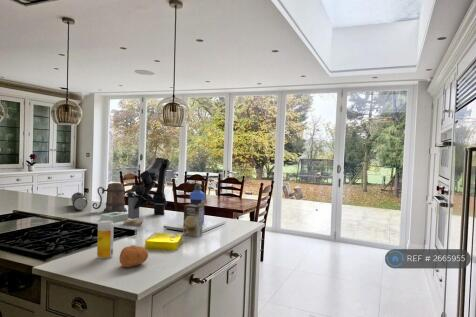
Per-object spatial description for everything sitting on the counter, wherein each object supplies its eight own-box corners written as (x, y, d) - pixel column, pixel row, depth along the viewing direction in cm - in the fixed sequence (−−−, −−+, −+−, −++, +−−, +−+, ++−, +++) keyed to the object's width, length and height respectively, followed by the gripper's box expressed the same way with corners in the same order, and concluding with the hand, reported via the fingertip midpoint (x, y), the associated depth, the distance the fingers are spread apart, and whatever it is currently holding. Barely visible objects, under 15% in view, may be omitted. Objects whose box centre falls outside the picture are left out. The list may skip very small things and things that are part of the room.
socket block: (116, 217, 212) (116, 211, 212) (128, 220, 206) (128, 213, 206) (100, 220, 202) (100, 214, 202) (112, 223, 196) (112, 216, 196)
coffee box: (182, 235, 175) (183, 205, 174) (187, 232, 181) (188, 203, 180) (197, 237, 172) (198, 206, 171) (202, 234, 178) (203, 205, 177)
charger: (134, 216, 199) (134, 197, 199) (139, 217, 197) (139, 198, 197) (127, 218, 195) (128, 198, 195) (132, 219, 193) (133, 199, 193)
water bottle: (186, 224, 201) (187, 183, 200) (193, 221, 209) (195, 182, 209) (199, 225, 197) (200, 184, 197) (206, 222, 206) (208, 183, 205)
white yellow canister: (100, 254, 139) (100, 219, 138) (114, 254, 139) (115, 220, 139) (94, 259, 132) (95, 223, 132) (110, 259, 133) (111, 223, 133)
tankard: (125, 208, 245) (125, 182, 245) (129, 212, 231) (130, 184, 230) (91, 210, 234) (91, 182, 233) (93, 214, 219) (94, 185, 219)
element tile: (153, 241, 163) (153, 231, 163) (183, 242, 163) (183, 233, 162) (143, 250, 148) (143, 239, 148) (176, 251, 148) (176, 241, 147)
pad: (142, 222, 202) (143, 219, 202) (140, 225, 192) (140, 223, 192) (126, 222, 200) (126, 219, 200) (123, 226, 191) (123, 223, 191)
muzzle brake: (84, 204, 256) (84, 191, 255) (87, 211, 231) (88, 196, 231) (70, 205, 251) (71, 192, 251) (72, 212, 227) (73, 197, 226)
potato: (115, 264, 128) (115, 245, 128) (143, 259, 135) (143, 241, 135) (123, 271, 121) (123, 251, 121) (151, 265, 128) (152, 246, 128)
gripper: (129, 178, 204) (113, 198, 195) (150, 181, 194) (135, 201, 185) (138, 190, 211) (124, 209, 202) (159, 192, 201) (145, 213, 192)
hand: (132, 208), depth 195 cm, fingers closed on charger, 4 cm apart
